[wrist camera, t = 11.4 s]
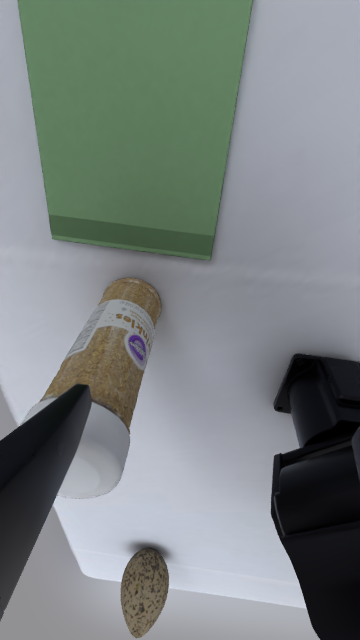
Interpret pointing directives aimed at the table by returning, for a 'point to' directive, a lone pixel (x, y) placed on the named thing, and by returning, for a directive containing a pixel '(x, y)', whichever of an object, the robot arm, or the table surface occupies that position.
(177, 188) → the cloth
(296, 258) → the table surface
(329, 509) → the robot arm
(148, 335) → the sprinkles bottle
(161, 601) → the decorative egg
